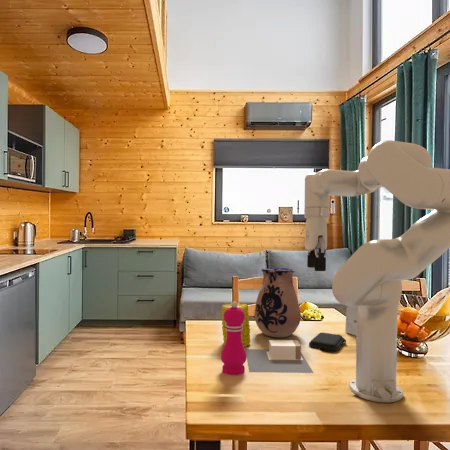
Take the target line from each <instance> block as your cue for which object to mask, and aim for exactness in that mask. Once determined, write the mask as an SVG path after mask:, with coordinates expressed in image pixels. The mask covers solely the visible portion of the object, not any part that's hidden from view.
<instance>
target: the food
mask: <svg viewBox="0 0 450 450" xmlns="http://www.w3.org/2000/svg"><path fill="white" fill-rule="evenodd" d="M237 304H238V305H237V307H239V308H241V309H242V310H243V311H244V314H245V319H244V321H243V323H242V325H243V330H242V331H241V340H242V344H243V346H244V348H247V346H250V343H251V335H250V333H251V329H250V327H251V326H250V318H249V317H250V315H249V314H250V313H249V306H248V304H246V303H242V304H241V303H237ZM230 307H232V306H231V303H226V304H222V305H221V315H222V316H221V325H222V327H221V328H222V336H223V338H222V340H223V344H224V345H225V343H226V339H227V330H226V329H225V328H226V326H225V325H226V324H227V323H226V322H225V320H224V312H225V310H226V309H228V308H230Z"/></svg>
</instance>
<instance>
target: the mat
mask: <svg viewBox="0 0 450 450" xmlns="http://www.w3.org/2000/svg"><path fill="white" fill-rule="evenodd" d="M244 349H245V348H244ZM245 351H246V357H247V358H246V362H247V366H248V373H281V374H283V373H285V374H286V373H288V374H289V373H295V374H296V373H298V374H301V373H303V374H304V373H305V374H307V373H308V374H314V371H313V370H312V368H311V366H310V365H309V362H308V361H307V359H306V358H305V356H304V354H303V352H301V359H271V357H270V354H269V348H268V349H263V348H262V349H260V348H255V349H254V348H253V349H252V348H250V349H249V348H246V349H245Z"/></svg>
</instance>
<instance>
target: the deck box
mask: <svg viewBox="0 0 450 450" xmlns="http://www.w3.org/2000/svg"><path fill="white" fill-rule="evenodd" d="M268 349H269V354H270V357H271V359H301V353H302V346H301V344H300V342H299V341H298V340H295V339H290V340H289V339H269V340H268Z"/></svg>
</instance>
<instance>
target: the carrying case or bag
mask: <svg viewBox="0 0 450 450" xmlns="http://www.w3.org/2000/svg"><path fill="white" fill-rule="evenodd" d="M346 343H347V340H346V338H345V337H343V335H341V334H335V333H328V332H319V333H318V334H317V335H316V336H314V338H312V339H311V340H310V341H309V343H308V346H309V348H311V349H312V348H313V349H319V350H320V351H324V352H330V353H335V352H336V351H338V349H340V347H341V346H342V345H343V344H345V345H346Z"/></svg>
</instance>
